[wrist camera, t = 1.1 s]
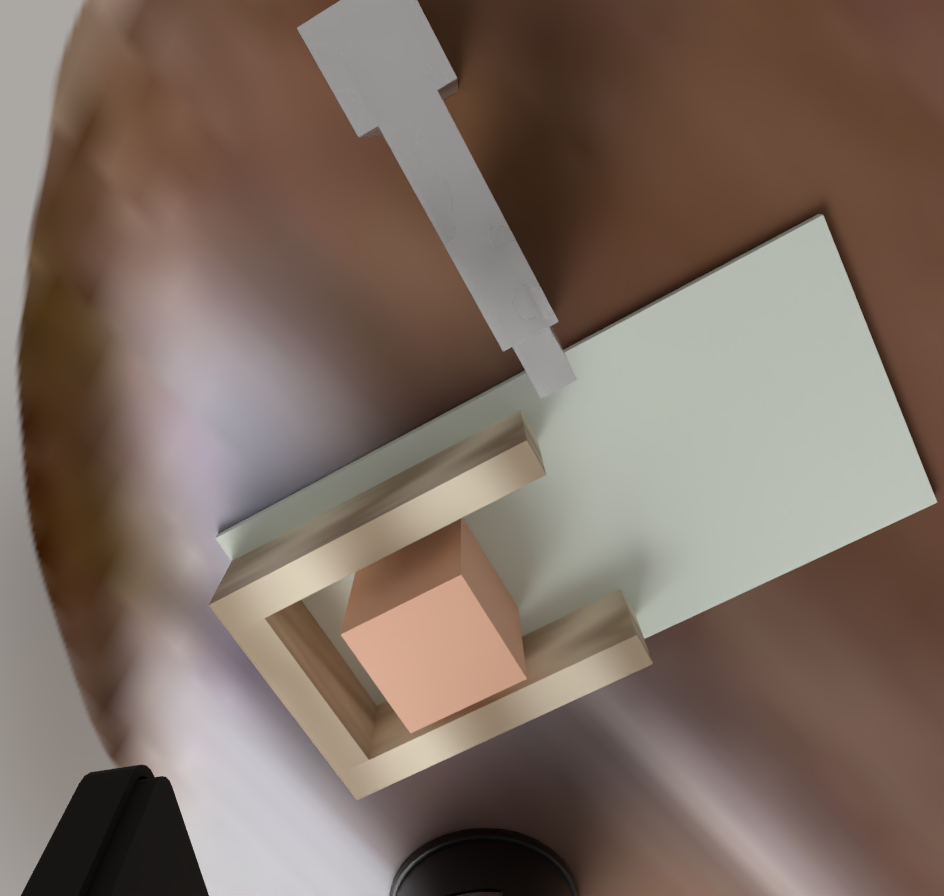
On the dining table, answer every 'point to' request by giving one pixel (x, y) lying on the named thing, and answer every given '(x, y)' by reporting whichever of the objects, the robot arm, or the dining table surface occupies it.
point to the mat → (672, 451)
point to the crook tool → (437, 164)
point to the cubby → (372, 538)
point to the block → (435, 627)
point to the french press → (484, 867)
